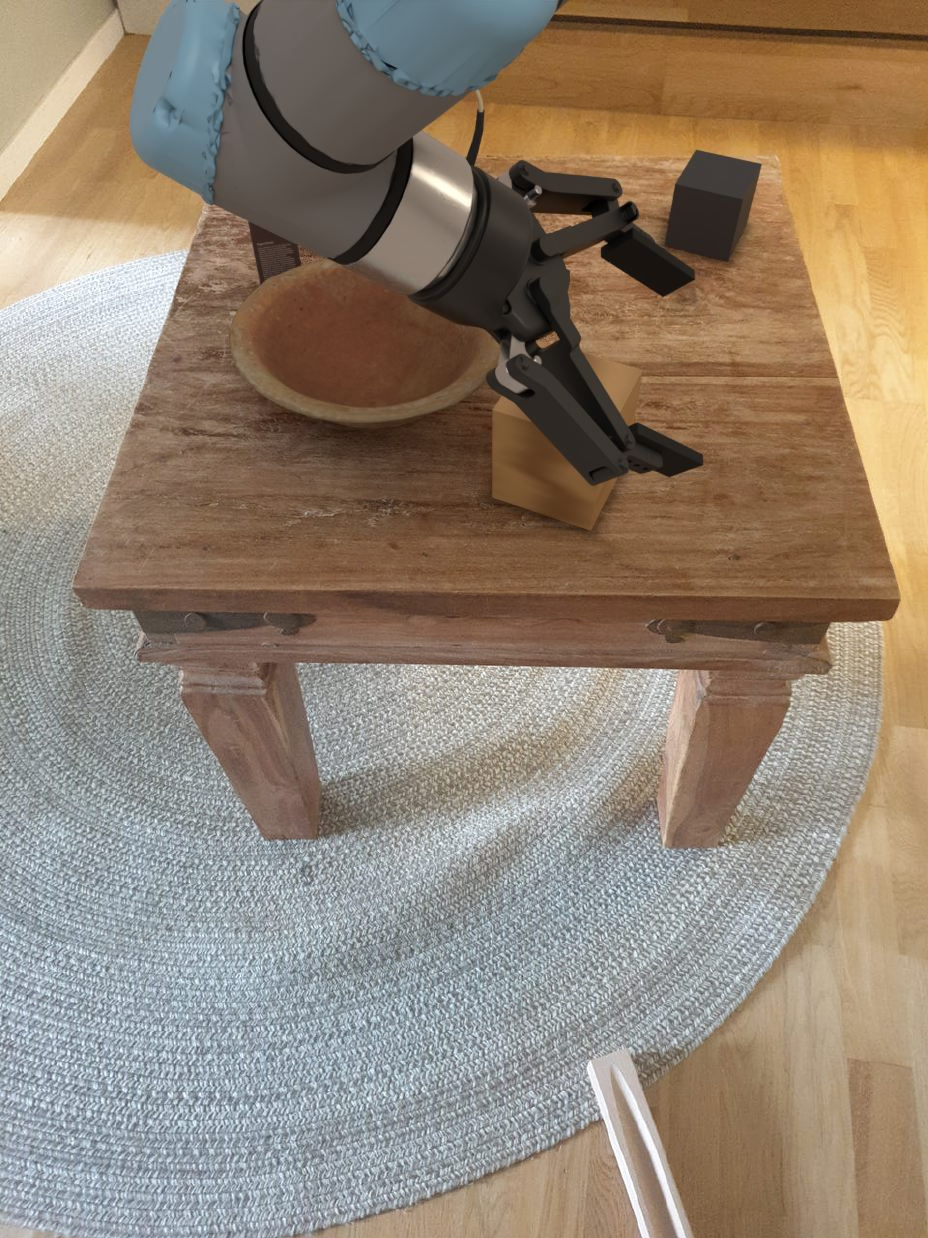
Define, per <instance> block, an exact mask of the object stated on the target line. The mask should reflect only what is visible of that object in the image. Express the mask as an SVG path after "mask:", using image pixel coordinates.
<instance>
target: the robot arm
mask: <svg viewBox="0 0 928 1238" xmlns="http://www.w3.org/2000/svg"><path fill="white" fill-rule="evenodd" d="M569 1H570V0H259V1H258V2H257V3H256V4H255V5H254V6H253V7H252V8H251V10H250V11H249V12H248V13H247V14H246V13H245V12H244V11H242V10H241V7H240V6H238V5H237V4H236V3H235V2H234V1H226V0H171V1H170V2H169V3H168V5H167V7H166V8H165V9H164V11H163V13H162V14H161V16H160V18H159V20H158V22H157V24H156V26H155V28H154V30H153V31H152V34H151V37H150V39H149V42H148V44H147V46H146V49H145V51H144V55H143V57H142V60H141V63H140V66H139V69H138V73H137V75H136V80H135V83H134V89H133V92H132V93H133V94H132V98H131V105H130V110H129V111H130V112H129V119H128V120H129V121H128V123H129V124H128V125H129V136H130V140H131V144H132V146H133V149H134V151H135V153H136V155H137V156H138V157H139V159H140V160H141V161H142V162H143V164H145V165H146V166H148V167H149V168H151V169H152V170H154V171H156V172H158V173H159V174H161V175H163V176H165V177H166V178H168V179H170V180H171V181H173V182H176V183H177V184H179V185H180V186H182V187H184V188H186V189H188V190H190V191H192V192H194V193H195V194H197V195H199V197H201V199H202V200H203V201H204V202H205V204H207V205H210V206H213V205H214V206H216V207H217V208H220V209H223V210H224V211H226V212H228V213H230V214H233V215H235V216H237V217H238V218H240V219H243V220H245V221H247V222H248V221H249V222H251V223H253V224H255V225H257V226H259V227H262V228H264V229H266V230H268V231H270V232H272V233H274V234H276V235H278V236H280V237H282V238H284V239H286V240H289V241H291V242H293V243H295V244H297V245H298V247H301V248H303V249H306V250H307V251H310V252H312V253H314V254H316V255H318V256H320V257H322V258H323V259H330V260H332V261H334V262H336V263H338V265H340V266H342V267H344V268H346V269H348V270H350V271H352V272H354V273H356V274H358V275H360V276H362V277H364V278H366V279H368V280H370V281H372V282H374V283H376V284H378V285H380V286H382V287H384V288H386V289H388V290H390V291H392V292H394V293H396V294H400V295H405V296H407V297H408V298H409V300H410V301H412V302H413V303H415V304H417V305H419V306H421V307H423V308H425V309H427V310H429V311H431V312H433V313H435V314H437V315H439V316H441V317H443V318H445V319H447V320H449V321H451V322H453V323H455V324H459V325H464V326H472V327H478V328H482V329H484V330H486V331H487V332H488V333H489V334H490V335H491V336H492V337H493V338H494V339H495V341H496V342H497V343H498V344H499V345H500V352H499V360H498V365H497V367H495V368H493V369H491V370H490V371H488V372H487V374H486V381H485V382H486V384H487V386H488V387H489V388H490V389H491V390H492V391H494V392H496V394H499V395H501V396H504V397H505V398H507V399H509V400H510V401H512V402H514V403H515V404H516V405H517V406H518V407H519V408H520V409H521V411H522V412H523V413H524V414H525V415H526V416H527V417H528V418H529V419H530V420H531V421H532V422H533V424H534V425H535V426H536V427H537V428H538V429H539V430H540V431H541V432H542V433H543V434H544V435H545V437H546V438H547V439H548V440H549V441H550V442H551V443H552V444H553V445H554V446H555V447H556V449H557V450H558V451H559V452H560V453H561V454H562V455H563V456H564V457H565V458H566V459H567V460H568V462H569V463H570V464H571V465H572V466H573V467H574V468H575V469H576V470H577V471H578V472H579V473H580V475H581V476H582V477H583V478H584V479H585V480H586V481H587V482H588V483H589V484H590V485H592V486H595V485H598V484H601V483H603V482H606V481H608V480H611V479H614V478H616V477H618V478H619V477H621V476H624V475H627V474H628V473H629V471H632V472H634V473H635V474H636V473H637V474H638V475H644V474H647V473H650V472H656V473H658V474H660V475H663V476H665V477H667V478H671V477H674V476H677V475H680V474H684V473H686V472H689V471H692V470H694V469H696V468H700V467H702V466H704V454H703V453H702V452H699V451H697V450H695V449H693V448H691V447H689V446H687V445H685V444H683V443H681V442H679V441H677V440H676V439H673V438H671V437H669V436H667V435H665V434H663V433H661V432H659V431H656V430H654V429H653V428H651V427H649V426H646V425H645V424H643V423H641V422H638V421H637V422H634V424H632V425H630V426H628V425H627V424H626V422H625V421H624V419H623V417H622V416H621V414H620V412H619V411H618V409H617V407H616V406H615V404H614V403H613V401H612V399H611V398H610V396H609V394H608V393H607V391H606V390H605V388H604V386H603V385H602V383H601V381H600V380H599V378H598V377H597V375H596V373H595V372H594V370H593V368H592V367H591V365H590V363H589V362H588V360H587V359H586V357H585V355H584V354H583V353H584V352H583V351H582V349H581V346H580V344H581V342H582V336H581V333H580V332H579V330H578V328H577V327H576V324H575V323H574V322H573V320H572V318H571V303H570V297H569V287H570V284H571V270H570V269H568V268H567V266H566V263H565V260H564V259H567V258H570V257H572V256H574V255H576V254H578V253H581V252H583V251H585V250H587V249H589V248H592V247H594V246H596V245H599V244H601V243H603V242H605V244H604V245H602V246H601V247H600V258H601V259H603V261H605V262H607V263H609V264H610V265H612V266H613V267H615V268H616V269H618V270H620V271H621V272H623V273H624V274H626V275H628V276H629V277H631V278H632V279H634V280H635V281H637V282H638V283H640V284H641V285H643V286H645V287H646V288H647V289H650V290H651V291H653V292H654V293H655V294H657V295H659V296H660V297H662V298H664V297H666V296H668V295H670V294H672V293H673V292H676V291H678V290H679V289H681V288H683V287H685V286H687V285H688V284H691V283H692V282H694V281H696V270H695V269H694V268H693V267H691V266H690V265H688V264H687V263H686V262H684V261H683V260H681V259H679V258H678V257H677V256H675V255H674V254H672V253H671V252H669V251H668V250H667V249H665V248H664V247H662V246H661V245H660V244H658V243H656V240H655V239H654V238H653V236H652V235H651V234H650V233H648V232H647V231H645V230H644V229H643V228H641V227H639V226H638V225H636V224H635V223H633V222H635V221H637V220H638V219H639V218H640V211H639V208H638V205H636V203H635V202H634V201H632V200H628V201H627V202H625V203H624V204H623V205H621V206H620V202H619V198H620V197H622V196H623V187H622V184H621V183H620V182H619V180H618V179H616V178H614V177H605V176H604V177H603V176H593V175H582V174H572V173H562V172H552V171H551V172H550V171H544V170H542V169H541V168H539V167H537V166H535V165H533V164H532V163H531V162H528V161H526V160H525V159H520V160H518V161H517V162H515V163H514V164H513V165H511V166H510V168H508V169H507V170H505V171H504V172H503V173H502V174H500V175H499V176H498V177H497V178H496V177H494V176H493V175H491V174H489V173H488V172H487V171H485V170H483V169H482V168H480V167H478V166H476V165H474V166H470V165H469V163H468V162H467V160H466V156H464V155H462V154H460V152H458V151H456V150H454V149H453V148H451V147H449V146H447V145H446V144H445V143H443V142H441V141H440V140H438V139H437V138H435V137H433V136H432V135H430V134H429V133H427V132H426V131H424V129H425V128H427V127H428V126H429V125H431V124H432V123H433V122H435V121H436V120H438V119H439V118H440V117H441V116H443V115H444V114H445V113H446V112H448V111H449V110H451V109H452V108H453V107H454V106H455V105H457V104H458V103H459V102H461V101H462V100H463V99H464V98H466V97H467V96H468V95H470V93H472V92H474V91H476V90H479V91H480V90H481V89H482V88H484V87H486V86H487V85H489V84H490V83H492V82H494V81H495V80H496V79H497V78H498V75H499V73H500V72H501V71H502V70H504V69H505V68H507V67H508V66H509V65H510V64H512V63H513V62H514V61H515V60H516V59H517V58H518V57H519V56H520V55H521V54H522V52H523V51H524V50H525V48H526V47H527V46H528V45H529V44H531V42H533V40H535V39H536V38H537V37H538V36H539V35H540V34H541V33H542V32H543V31H544V30H545V29H546V27H547V26H548V24H549V23H550V22H551V20H552V18H553V16H554V15H555V14H556V12H558V11H559V10H560V9H561V8H562V7H564V6H565V5H566V4H567V3H568V2H569ZM535 214H548V215H570V216H587V217H588V216H589V217H590V216H591V218H589V219H586V220H584V221H582V222H580V223H577V224H574V225H571V224H570V225H568V226H565V227H563V228H560V229H558V230H556V231H552V232H548V233H547V232H546V231H545V229H544V228H543V226H542V225H541V223H540V222H539V220H538V218H537V217H536V216H535ZM553 333H555V335H556V336H557V337H558V340H556V341H553V342H552V343H551V344H550V345H549V346H547V347H545V348H541V347H539V346H538V344H537V343H536V342H537V340H541V339H542V340H543V339H545V338H546V337H548V336H550V335H552V334H553Z"/></svg>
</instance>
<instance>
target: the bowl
mask: <svg viewBox="0 0 928 1238" xmlns="http://www.w3.org/2000/svg"><path fill="white" fill-rule="evenodd" d="M228 342H229V344H228V345H229V351H230V356H231V359H232V361H233V363H234V365H235V368H236V369H237V371H238V373H239V374H240V376H241V377H242V378H243V380H244V381H245V382H246V383H247V384H248V385H249V386H250V387H252V388H253V390H255V391H256V392H258V393H259V394H260V395H262V396H263V397H264V398H266V399H268V400H269V401H270V402H273V403H275V404H277V405H279V406H280V407H282V408H285V409H287V410H289V411H293V412H294V413H297V414H300V415H303V416H306V417H309V418H314V419H317V420H322V421H327V422H329V423H331V424H332V423H333V424H338V425H342V426H345V427H350V428H352V427H353V428H364V429H386V428H393V427H398V426H401V425H402V426H403V425H405V424H409V423H412V422H415V421H418V420H421V419H422V418H424V417H426V416H428V415H430V414H431V413H434V412H437V411H438V412H439V411H445V410H448V409H450V408H453V407H455V406H456V405H457V404H459V403H460V402H462V401H464V400H465V399H467V398H468V397H470V396H471V395H473V394H474V393H475V392H477V391H478V389H480V388H481V387H482V386H483V385H484V383H486V382H487V381H486V374H487V372H488V371H490V370H491V369H493V368H495V367H497V366H498V360H499V352H500V345H499V344H498V343H497V342H496V341H495V339H494V338H493V337H492V336H491V335H490V334H489V333H488V332H487V331H486V330H484V329H482V328H478V327H472V326H464V325H459V324H455V323H453V322H451V321H449V320H447V319H445V318H443V317H441V316H439V315H437V314H435V313H433V312H431V311H429V310H427V309H425V308H423V307H421V306H419V305H417V304H415V303H413V302H412V301H410V300H409V298H408V297H407V296H405V295H400V294H396V293H394V292H392V291H390V290H388V289H386V288H384V287H382V286H380V285H378V284H376V283H374V282H372V281H370V280H368V279H366V278H364V277H362V276H360V275H358V274H356V273H354V272H352V271H350V270H348V269H346V268H344V267H342V266H340V265H338V263H336V262H334V261H332V260H330V259H328V258H323V259H319V260H316V261H312V262H307V263H305V264H301V266H298V267H295V268H292V269H290V270H288V271H285V272H283V273H281V274H279V275H277V276H272V277H270V278H268V279H267V280H266V281H264V282H263V283H262V284H261V285H260V284H259V286H258V287H257V288H255V290H253V291H252V292H251V293H250V294H249V295H248V296H247V297H246V298H245V299H244V300H243V302H242V303H241V304H240V305H239V307H238V309H237V311H236V312H235V315H234V316H233V317H232V320H231V324H230V327H229V333H228Z"/></svg>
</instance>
